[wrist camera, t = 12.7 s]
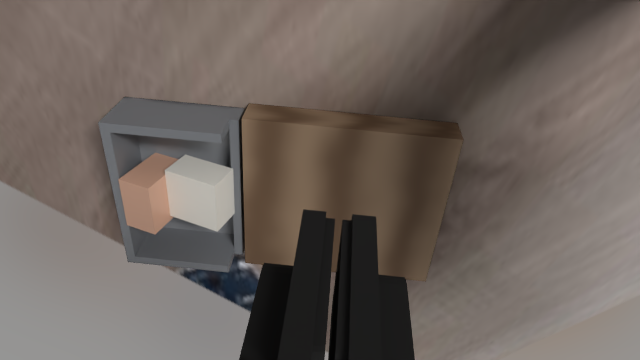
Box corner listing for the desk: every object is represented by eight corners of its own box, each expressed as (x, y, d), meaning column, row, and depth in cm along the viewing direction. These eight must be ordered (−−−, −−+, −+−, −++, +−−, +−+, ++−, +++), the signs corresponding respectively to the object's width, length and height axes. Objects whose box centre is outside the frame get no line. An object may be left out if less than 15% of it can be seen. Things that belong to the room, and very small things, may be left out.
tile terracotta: (148, 188, 39) (118, 179, 40) (155, 234, 42) (127, 225, 43) (183, 160, 43) (155, 152, 44) (187, 204, 46) (161, 196, 47)
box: (244, 108, 41) (231, 135, 37) (247, 238, 50) (236, 273, 46) (124, 96, 42) (98, 122, 38) (147, 228, 50) (128, 261, 46)
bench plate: (457, 123, 41) (463, 140, 38) (422, 260, 50) (425, 281, 47) (248, 103, 41) (241, 118, 39) (251, 243, 50) (245, 262, 48)
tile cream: (233, 168, 42) (214, 185, 40) (234, 213, 45) (217, 231, 42) (185, 154, 43) (164, 170, 41) (189, 198, 46) (170, 215, 44)
